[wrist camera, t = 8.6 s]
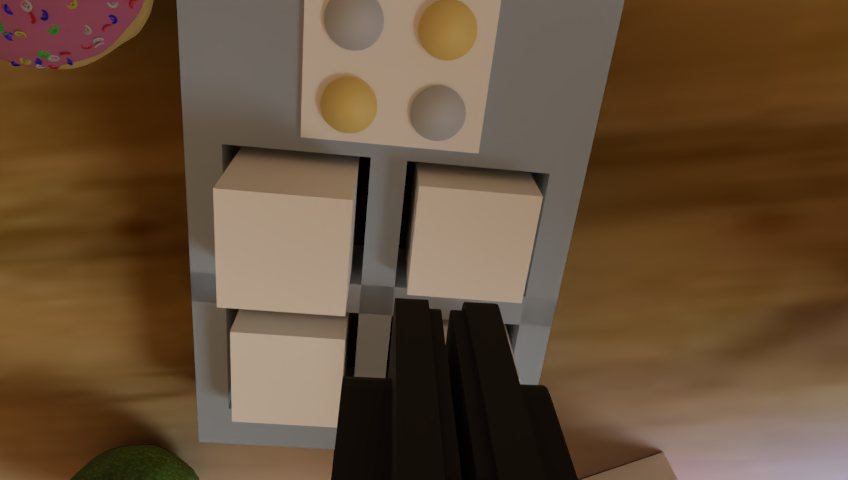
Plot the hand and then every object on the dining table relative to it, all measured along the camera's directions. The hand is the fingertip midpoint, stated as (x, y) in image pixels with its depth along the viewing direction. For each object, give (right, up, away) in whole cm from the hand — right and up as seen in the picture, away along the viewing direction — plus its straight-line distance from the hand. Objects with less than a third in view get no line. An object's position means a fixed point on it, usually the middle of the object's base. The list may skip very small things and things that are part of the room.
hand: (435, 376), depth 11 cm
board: (-2, +3, +22) cm, 22 cm away
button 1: (-6, +4, +19) cm, 20 cm away
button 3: (+2, +4, +21) cm, 21 cm away
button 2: (-7, -2, +24) cm, 25 cm away
